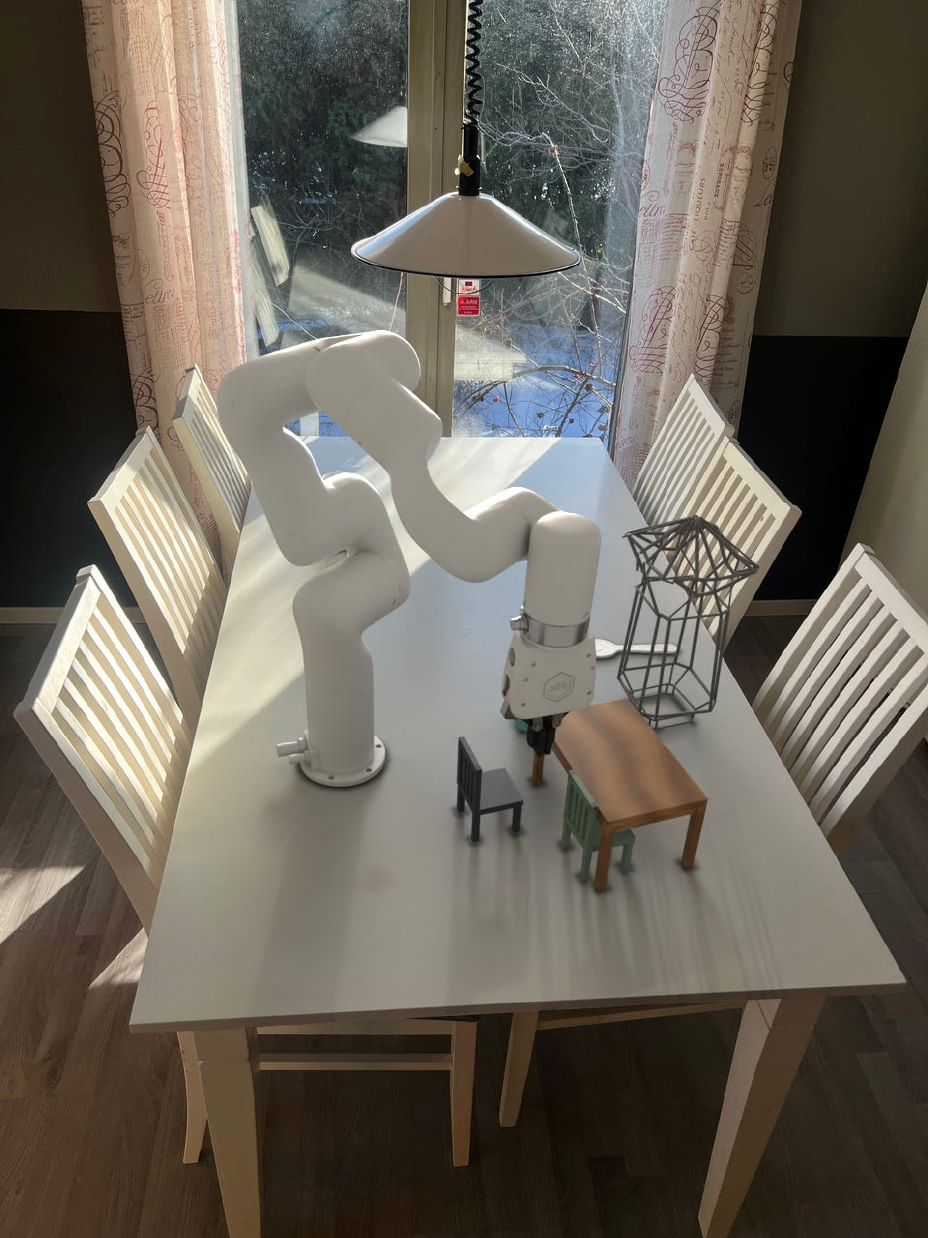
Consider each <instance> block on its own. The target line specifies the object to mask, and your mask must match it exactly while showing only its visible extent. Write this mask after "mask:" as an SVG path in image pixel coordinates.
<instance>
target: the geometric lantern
mask: <svg viewBox="0 0 928 1238" xmlns="http://www.w3.org/2000/svg"><path fill="white" fill-rule="evenodd" d="M671 526H672V527H671ZM666 527H671V528H669V529H667V530H665V531H652V530H657V529H661V528H666ZM705 530H706V531H707V532H708V533H709V534H710V535H711V536H712V537H713V538H714V539H716V540H717V541H718V545H719V550H720V553H721V557H722V560H721V561H720V562H719V563H718V564H717V565H716V563H715V561H714V557H713V554H712V552H711V549H710V545H709V542H708V540H707V537H706V534H705ZM633 536H634V537H633ZM646 536H660V537H658V538H657V539H656V540H654V541H653V540H651V539H649V538H647V537H646ZM669 536H670V537H669ZM635 537H636V538H638V539H640V540H642V541H643V542H645V543H647V544H648V545H647V546H645V547H643V545H641V544H640V543H639V542H638V541H637V540H636V539H635ZM668 537H669V538H668ZM700 537H701V540H702V544H703V546H704V548H705V552H706V554H707V558H708V561H709V563H710V567H711V569H712V570H710V572H709V573H707V574H706V575H705V576H704V577H700ZM621 538H622V539H624V538H627V540H628V542H629V546H630V548H631V551H632V552H633V555H634V557H635V560H636V564H635V571H636V572H640V573H641V574H642V576H641V580H640V582H639V583H638V584H635V585H634V588H635V593H634V598H633V602H632V606H631V611H630V615H629V620H628V625H627V629H626V634H625V638H624V643H623V645H624V647H623V652H621V657H620V661H619V665H618V671H617V675H616V680H617V681H618V682H619V684H620V686H621V687H622V689H623V691H624V692H625V694H626V696H627V698H628V699H629V701H630V702H631V703H632V704H633V706H634V707H635V708H636V709H637V711H638V712H639V713H640V714H641V716H642V717H643V718H644V719H647V720H648V722H647V723H648V724H649V726H650V727H651V728H652V729H653V731H659V730H663V729H669V728H674V727H679V726H683V725H689V724H692V723H694V718H695V715H700V714H708V713H712V712H713V711H714V708H715V707H716V704H717V700H718V694H719V693H718V691H719V686H720V678H721V670H722V667H723V666H722V665H723V659H724V653H725V646H726V640H727V632H728V627H729V620H730V619H729V618H730V612H731V609H730V608H731V601H732V592H733V586H734V585H736V584H738V583H740V582H742V581H743V580H745V579H747V578H750V577H752V576H753V575H755V574H757V573H758V571H759V570H760V569H761V566H760V565H759V564H757V563H756V562H755V561H754V560H753V559H752V558H750V556H748V555H747V554H746V553H744V551H742V550H741V549H740V548H738V547H737V546H736V545H735V544H734V543H733V542H731V540H729V539H728V538H727V537H726V536H725V534H724V532H722V530H721V529H720V528H719V525H717V524H715V523H713V522H710V521H709V520H706V519H705V518H704V517H703V516H699V515H698V514H694V513H693V514H692V516H686V517H682V518H678V519H677V518H676V519H673V520H669V521H665V522H661V523H656V524H653V525H649V526H644V527H640V528H636V529H631V530H628V531H626V532H625V533H624V534H622V536H621ZM667 538H668V539H667ZM676 538H677V541H676V544H675V547H672V546H671V547H669V546H668V545H670V544H671V543H672V542H673V540H675V539H676ZM665 539H667V540H665ZM664 540H665V542H664ZM692 541H694V546H695V547H694V566H693V565H692V562H691V561H690V560H689V558H688V556H687V554H686V553H687V551H688V549H689V546H690V543H692ZM663 542H664V543H663ZM667 546H668V547H667ZM653 547H655V548H657V549H656V550H655V551H654V552H653V553H652V554H651V555H650V556H649V555H648V553H647V552H648V550H650V549H652V548H653ZM683 549H684V550H683ZM725 549H726V550H727V551H728V554H727V555H726V551H725ZM638 550H639V552H638ZM662 551H663V552H674V554H673V555H672V557H671V559H670V561H669V563H668V564H667V566H666V568H665V570H664V572H663V573H662V572H661V571H660V570H659V569H658V567H656V566H654V564H655V562H656V560H657V559H658V556H659V555H660V553H662ZM680 553H682V556H681V559H680V560H679V564H678V566H677V568H676V572H675V574H674V576H668V574H669V573H670V571H671V570H672V567H673V565H674V564H675V562H676V560H677V558H678V557H679V555H680ZM640 555H642V556H643V558H644V559H645V561H642V560H641V557H640ZM731 556H733V558H734V559H735V560H736V563H735V565H734V568H733V567H732V566H731V564H730V563H729V560H730V558H731ZM684 559H685V560H686V561H687V563H688V565H689V567H690V568H691V570H692V571H693V574H694V575H693V574H687V575H678V574H679V571H680V570H681V566H682V564H683V562H684ZM740 562H741V563H742V564H743V565H744V566H745V568H741V569H738V567H739V564H740ZM646 565H647V567H648V568H647V569H646ZM723 565H724V566H725V567H726V568H727V570H728V572H730V574H728V575H722V576H719V573H718V570H719V569H720V568H721V567H722V566H723ZM651 571H653V572H654V573H655V574H656V575H650V572H651ZM712 575H713V576H714V577H711V576H712ZM734 578H735V579H734ZM671 580H672V581H671ZM725 580H730V582H728V583H725V584H724V585H721V586H719V587H718V588H717V586H718V582H720V581H725ZM652 582H664V583H667V584H670V585H674V584H675V585H677V586H678V587H680V588H682V589H683V590H685V591H686V592H688V597H687V600H686V601H685V602H684V603H683V604H681V606H679V607H678V608H677V609H675V611H673V612H672V613H671V614H670V615H668V616H667V615H666V614H664V613H662V612H660V610H659V606H658V604H657V601H656V598H655V593H654V591H653V588H652V585H651V583H652ZM685 582H691V583H690V587H689V586H688V585H686V584H685ZM699 582H700V583H702V584H701V591H700V592H699V593H698V589H699ZM708 582H709V583H711V582H713V588H712V587H711V586H710V584H709V583H708ZM706 587H707V588H708V590H707V591H706ZM728 588H729V593H728V600H727V601H728V602H727V603H726V602H725V601H724V600H723V599H722V598H721V596H719V594H718V593H720V592H722V591H724V590H725V589H728ZM647 589H648V593H649V596H650V598H651V602H652V604H651V602H650V601H649V600H648V598H647V597H646V596H645V593H646V590H647ZM639 595H640V596H639ZM712 595H713V598H714V600H715V603H716V607H717V610H718V613H709V614H702V611H703V605H704V598H705V597H708V596H712ZM694 598H695V599H697V598H699V602H698V609H697V615H690V616H688V615H689V612H690V607H691V603H692V600H693V599H694ZM644 601H645V603H646V604H647V605H648V607H649V608H650V610H651V611H652V612H653V614H654V615H655V616H656V621H655V625H654V631H653V635H652V641H651V644H652V645H651V644H650V645H651V650H650V653H648V654H649V655H648V660H647V664H645V665H637V666H630V667H627V666H628V662H629V658H630V654H631V652H630V650H631V646H632V645H633V641H634V638H635V633H636V630H637V625H638V621H639V618H640V613H641V610H642V605H643V602H644ZM637 603H638V604H637ZM721 604H722V605H723V606H724V608H726V609H724V610H723V608H722V605H721ZM684 607H685V610H684V615H683V616H682V617H673V616H675V615H676V614H677V613H678V612H679V611H680V610H681V609H682V608H684ZM672 617H673V618H672ZM712 617H719V618H718V625H717V634H716V635H717V636H716V640H715V641H716V642H715V651H714V658H713V667H712V676H711V683H710V684H711V685H710V689H708V687H707V686H706V684H705V683H704V682H703V681H702V679H701V678H700V676H699V675H698V673H696V671H695V670H694V668H693V667H694V661H695V654H696V648H697V641H698V636H699V629H700V623H701V619H702V618H703V619H704V618H712ZM661 619H664V620H665V621H667V624H666V630H665V638H664V643H663V644H664V651H663V653H662V660H661V662H660V663H653V664H652V662H653V657H654V654H655V653H654V648H655V644H657V638H658V633H659V629H660V623H661ZM694 619H695V620H696V621H695V626H694V627H695V628H694V633H693V640H692V648H691V653H690V660H689V665H687V664H684V663H682V662H679V661H678V658H679V654H680V650H681V645H682V642H683V639H684V638H683V637H684V633H685V628H686V625H687V620H694ZM675 621H682V624H681V628H680V632H679V637H678V641H677V646H676V648H677V649H676V653H674V657H673V661H670V662H667V656H668V653H667V649H668V644H669V641H670V634H671V627H672V622H675ZM722 629H723V631H722ZM627 645H628V648H627ZM626 649H627V652H626ZM669 666H671V667H670V672H669V677H668V681H667V682H664V676H665V669H666V667H669ZM675 666H678V667H681V668H683V669H685V670H684V672H683V673H682V674H681V675H680V676H679V677H678V679H677V680H676V681H675V682H674V684H673V683H671V682H672V677H673V672H674V667H675ZM653 668H660V674H659V680H658V684H655V685H649V686H647V684H648V681H649V676H650V671H651V669H653ZM637 670H645V674H644V677H643V682H642V687H640V688H636V689H633V687H632V685H631V682H630V680H629V678H628V676H627V674H626V672H629V671H631V672H632V671H637ZM689 671H690V673H691V674H692V675H693V677H694V679H696V681H697V682H698V683H699V685H700V686H701V688H703V691H704V692H705V693H706V694H707V696H708V697H709V699H708V701H707V702H705V703H702V704H700V705H699V706H697V707H695V706H694V704H693V703H692V702H691V701H690V700H689V699H688V698H687V696H685V694H684V693H682V691H681V690H680V689H679V688H678V687H677V685H678V684H679V682H681V680H682V679H683V678H684V677H685V675H686V674H688V672H689ZM622 676H623V677H624V680H625V682H626V684H627V685H626V684H625V682H624V681H623V679H622ZM669 686H670V687H672V689H671V692H668V690H669ZM663 687H665V690H664V691H663ZM656 688H658V689H657V693H655V694H650V695H646V694H645V693H646V690H651V689H656ZM662 691H663V692H662ZM675 691H676V692H677V693H678V694H679V695H680V696H681V697H682V698H683V699H684V700H685V702H686V703H687V704H688V705H689V706H690V708H692V709H693V710H688V708H687V707H686V706H685V705H684V704H683V703H682V702H681V701H680V699H678V697H677V696H676V695H675ZM636 692H637V693H638V692H641V693H640V697H636V696H635V695H634V694H635V693H636ZM662 696H670V697H673V699H674V700H675V701H676V703H678V705H680V707H681V708H682V709H683V710H684V711H679V712H671V713H670V712H669V713H662V714H659V713H660V705H661V697H662ZM651 698H656V703H655V711H654V712H655V713H651V712H647V711H646V709H645V708H644V706H643V704H644V701H645V699H651ZM707 705H708V708H706V709H701V708H704V707H705V706H707ZM686 716H689V717H690V720H686V721H682V722H677V723H671V724H667V725H662V726H659V722H660V721H666V720H670V719H675V718H680V717H681V718H682V717H686ZM652 722H655V724H654V727H652V726H651V725H652ZM658 726H659V727H658Z"/></svg>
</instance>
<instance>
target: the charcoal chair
mask: <svg viewBox="0 0 928 1238" xmlns="http://www.w3.org/2000/svg"><path fill="white" fill-rule="evenodd" d="M457 742H458V744H457V766H456V784H457V791H456V792H457V793H456V811H457V812H458V813H459V814H460V813H464V812H465V810H466V809H465V808H466V804H467V806H468V808H469V810H470V812H471V829H470V840H471V841H472V843H476V842H480V833H481V816H484V815H488V814H492V813H493V814H494V813H497V812H502V811H506V810H510V809H511V810H512V817H511V818H512V820H511V831H512V832H513V833H514V834H516V833H519V832H521V822H522V821H521V819H522V812H523V811H522V809H523V806H524V799H523V797H522V795H521V794H520V792H519V790H518V788H517V786H516V785H515V783H514V781H513V779H512V778H511V775H510V774H509V772H508V771H507V769H506V767H499V768H495V769H489V770H484V771H483V767H482V766H481V764H480V763H479V761H478V759H477V757H476V756H475V753H474V752H473V750H472V748H471V747H470V745H469V743H468V741H467V738H466V737H465V735H463V736H462V735H461V736H458V741H457Z"/></svg>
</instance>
